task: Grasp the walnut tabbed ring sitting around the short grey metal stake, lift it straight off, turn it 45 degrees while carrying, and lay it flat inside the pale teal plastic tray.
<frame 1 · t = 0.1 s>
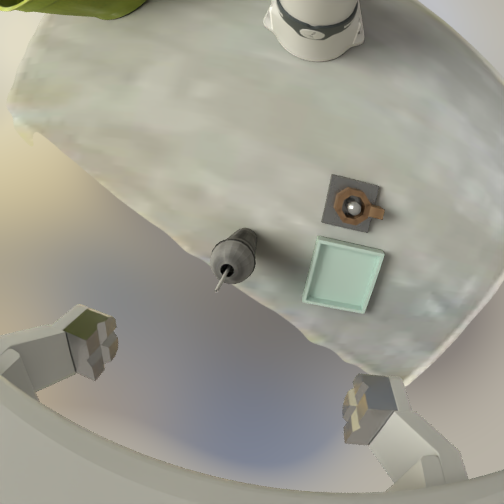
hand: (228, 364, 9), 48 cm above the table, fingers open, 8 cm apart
tray: (341, 273, 58), on the table
stake: (349, 203, 53), on the table
beverage cup: (245, 238, 59), on the table
ring: (350, 204, 52), point 1 cm above the table, touching stake
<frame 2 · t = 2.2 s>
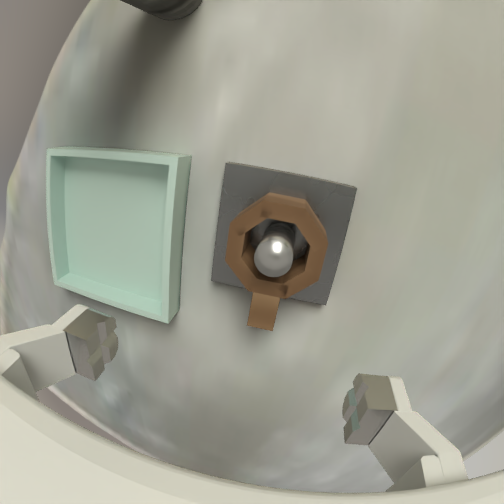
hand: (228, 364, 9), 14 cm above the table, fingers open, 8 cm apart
tray: (115, 224, 24), on the table
stake: (280, 233, 22), on the table
ring: (279, 237, 21), point 1 cm above the table, touching stake
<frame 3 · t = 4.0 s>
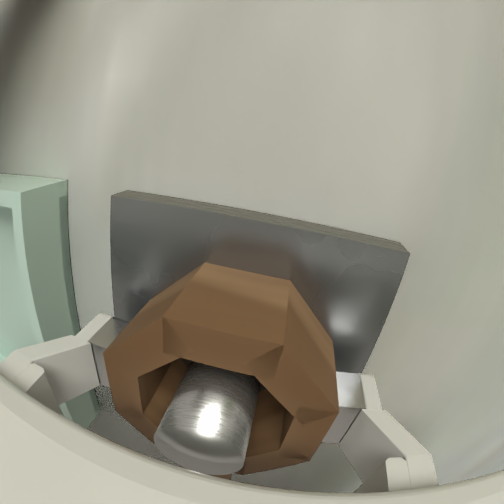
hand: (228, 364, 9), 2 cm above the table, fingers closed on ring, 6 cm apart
tray: (1, 287, 12), on the table
stake: (238, 334, 11), on the table
ring: (233, 351, 10), point 1 cm above the table, touching gripper, stake
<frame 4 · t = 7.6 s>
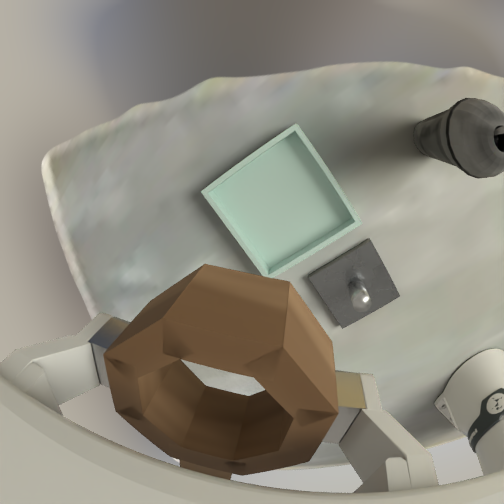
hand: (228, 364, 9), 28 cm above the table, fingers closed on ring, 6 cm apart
tray: (282, 202, 35), on the table
stake: (355, 284, 37), on the table
beverage cup: (428, 137, 30), on the table
ring: (233, 352, 10), point 27 cm above the table, touching gripper
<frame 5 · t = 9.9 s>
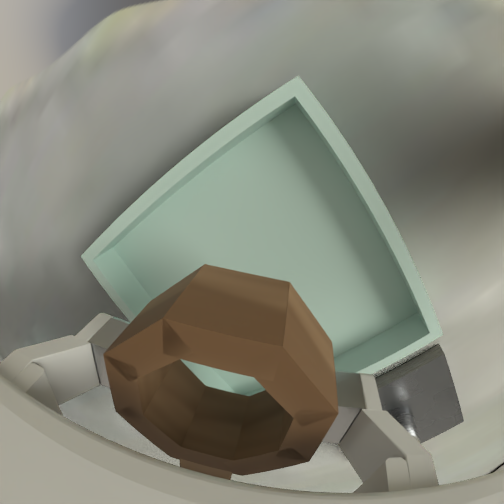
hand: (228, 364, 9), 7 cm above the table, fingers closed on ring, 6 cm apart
tray: (264, 277, 15), on the table
stake: (396, 412, 17), on the table
ring: (233, 352, 10), point 6 cm above the table, touching gripper
when the fingers open (3 cm above the table, at t = 11.4 s): ring drops 1 cm, resting on tray.
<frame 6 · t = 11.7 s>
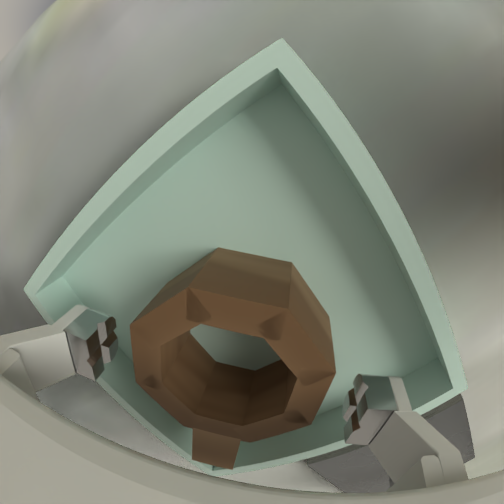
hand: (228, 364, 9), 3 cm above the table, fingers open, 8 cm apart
tray: (243, 319, 11), on the table
stake: (402, 454, 14), on the table
ring: (242, 328, 11), resting on tray
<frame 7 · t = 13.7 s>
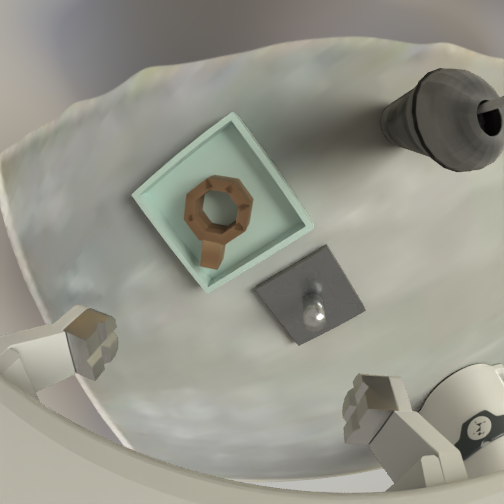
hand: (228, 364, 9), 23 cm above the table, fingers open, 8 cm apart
tray: (223, 203, 31), on the table
stake: (312, 296, 33), on the table
beverage cup: (400, 124, 26), on the table
ring: (222, 205, 30), resting on tray
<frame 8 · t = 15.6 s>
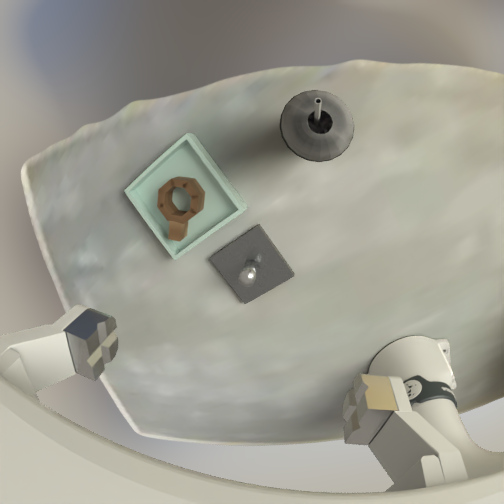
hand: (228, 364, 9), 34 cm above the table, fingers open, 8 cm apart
tray: (185, 196, 43), on the table
stake: (252, 264, 45), on the table
beverage cup: (312, 131, 37), on the table
ring: (185, 197, 42), resting on tray
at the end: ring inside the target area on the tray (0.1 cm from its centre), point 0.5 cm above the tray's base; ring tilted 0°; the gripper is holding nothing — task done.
